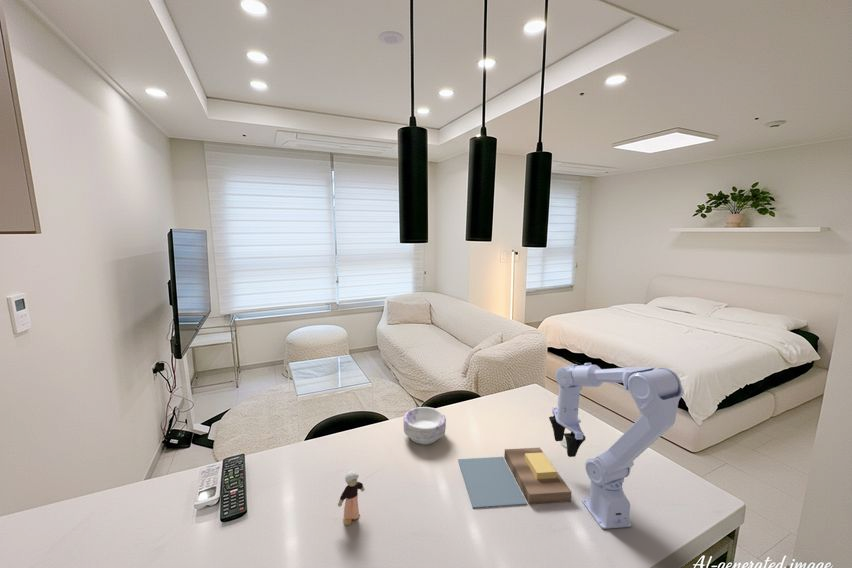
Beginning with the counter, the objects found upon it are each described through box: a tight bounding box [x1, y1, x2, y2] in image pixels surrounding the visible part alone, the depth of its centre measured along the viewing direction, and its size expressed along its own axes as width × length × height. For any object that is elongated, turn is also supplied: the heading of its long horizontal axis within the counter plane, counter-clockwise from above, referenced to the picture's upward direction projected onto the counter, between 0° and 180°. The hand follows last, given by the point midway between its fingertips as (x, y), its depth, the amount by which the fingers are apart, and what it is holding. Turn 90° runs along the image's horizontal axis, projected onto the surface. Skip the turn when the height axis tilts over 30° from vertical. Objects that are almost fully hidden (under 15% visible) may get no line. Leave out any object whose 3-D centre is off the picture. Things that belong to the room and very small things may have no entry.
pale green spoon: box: [560, 437, 567, 449], centre depth 125 cm, size 5×1×15 cm
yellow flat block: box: [525, 451, 558, 479], centre depth 103 cm, size 9×6×2 cm, turn 6°
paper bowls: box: [403, 406, 447, 445], centre depth 123 cm, size 15×15×8 cm
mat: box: [457, 456, 528, 510], centre depth 102 cm, size 20×15×1 cm
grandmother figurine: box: [337, 470, 365, 526], centre depth 87 cm, size 8×4×13 cm, turn 148°
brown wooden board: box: [503, 447, 572, 505], centre depth 103 cm, size 20×12×3 cm, turn 6°
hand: (564, 448), depth 103 cm, fingers open, 7 cm apart
